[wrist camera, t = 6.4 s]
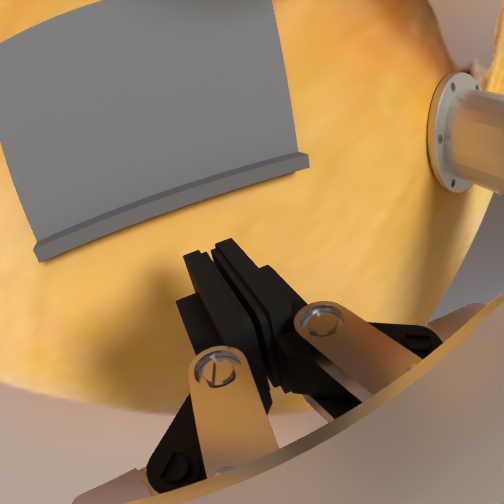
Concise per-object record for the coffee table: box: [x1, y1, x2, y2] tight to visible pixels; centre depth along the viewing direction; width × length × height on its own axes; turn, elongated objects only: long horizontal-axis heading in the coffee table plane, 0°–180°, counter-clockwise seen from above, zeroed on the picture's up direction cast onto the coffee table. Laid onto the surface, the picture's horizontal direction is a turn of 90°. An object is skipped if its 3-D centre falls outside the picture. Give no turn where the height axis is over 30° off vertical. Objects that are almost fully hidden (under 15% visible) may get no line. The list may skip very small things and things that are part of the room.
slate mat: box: [0, 0, 310, 263], centre depth 13 cm, size 16×12×2 cm
